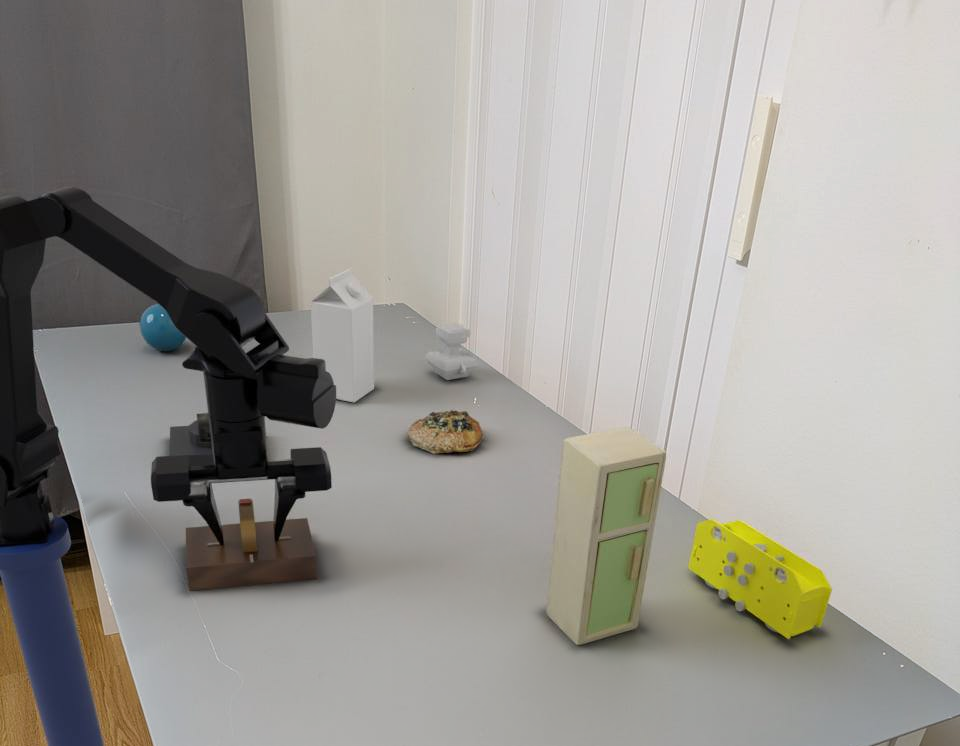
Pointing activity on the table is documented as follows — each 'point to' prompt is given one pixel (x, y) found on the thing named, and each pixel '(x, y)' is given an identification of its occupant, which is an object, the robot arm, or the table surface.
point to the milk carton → (345, 335)
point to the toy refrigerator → (603, 532)
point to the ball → (160, 329)
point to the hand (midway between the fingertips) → (249, 541)
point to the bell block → (190, 445)
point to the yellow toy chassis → (760, 576)
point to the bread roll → (446, 432)
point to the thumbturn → (247, 525)
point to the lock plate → (249, 556)
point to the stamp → (452, 353)
